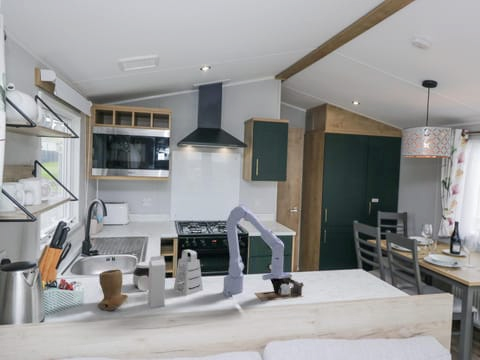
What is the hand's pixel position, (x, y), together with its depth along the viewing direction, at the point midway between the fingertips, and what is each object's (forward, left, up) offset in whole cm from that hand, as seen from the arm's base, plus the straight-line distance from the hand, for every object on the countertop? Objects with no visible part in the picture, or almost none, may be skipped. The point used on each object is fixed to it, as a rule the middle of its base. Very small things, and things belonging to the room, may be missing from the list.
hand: (276, 293), depth 160 cm
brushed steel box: (+5, -1, -1) cm, 5 cm away
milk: (-57, +6, -2) cm, 57 cm away
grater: (-40, +20, -2) cm, 44 cm away
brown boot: (-76, +11, -2) cm, 76 cm away
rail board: (+1, 0, -2) cm, 3 cm away
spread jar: (-61, +29, -2) cm, 67 cm away
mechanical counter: (+15, +12, -3) cm, 19 cm away
